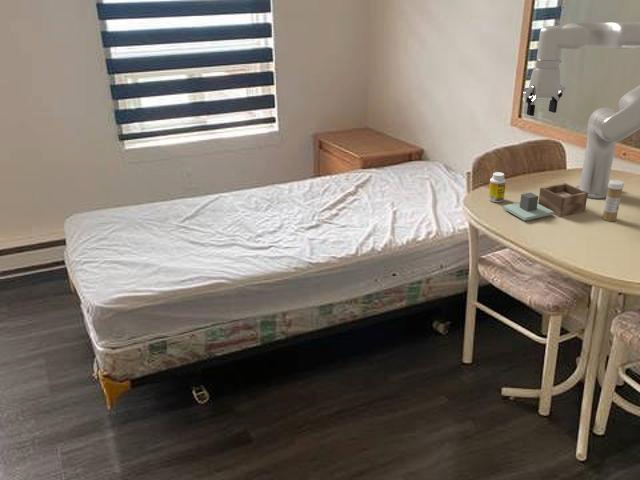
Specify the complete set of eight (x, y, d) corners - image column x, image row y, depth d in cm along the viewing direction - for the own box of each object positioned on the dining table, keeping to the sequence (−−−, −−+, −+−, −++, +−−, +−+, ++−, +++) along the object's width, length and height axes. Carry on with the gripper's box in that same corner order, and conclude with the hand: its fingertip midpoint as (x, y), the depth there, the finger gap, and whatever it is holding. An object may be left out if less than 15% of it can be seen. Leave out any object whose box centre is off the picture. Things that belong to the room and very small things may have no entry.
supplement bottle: (496, 204, 215) (499, 177, 211) (485, 199, 219) (487, 173, 215) (507, 200, 218) (509, 174, 213) (495, 196, 222) (497, 170, 218)
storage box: (562, 201, 215) (565, 183, 212) (584, 211, 206) (587, 192, 203) (537, 206, 212) (540, 187, 209) (559, 217, 203) (562, 198, 200)
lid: (530, 205, 214) (532, 187, 211) (553, 217, 204) (555, 198, 200) (502, 210, 210) (504, 192, 207) (524, 223, 200) (526, 204, 197)
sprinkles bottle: (608, 215, 202) (615, 178, 197) (619, 220, 199) (627, 182, 193) (598, 218, 201) (605, 180, 195) (610, 223, 197) (617, 185, 191)
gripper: (559, 60, 209) (553, 108, 216) (519, 65, 204) (514, 114, 211) (575, 63, 203) (568, 112, 210) (534, 68, 197) (528, 118, 205)
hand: (541, 113), depth 211 cm, fingers open, 9 cm apart
